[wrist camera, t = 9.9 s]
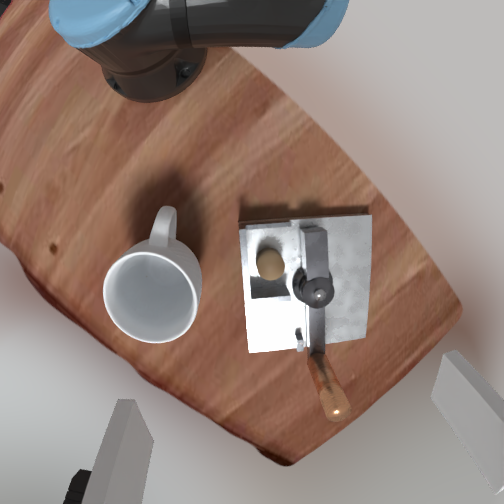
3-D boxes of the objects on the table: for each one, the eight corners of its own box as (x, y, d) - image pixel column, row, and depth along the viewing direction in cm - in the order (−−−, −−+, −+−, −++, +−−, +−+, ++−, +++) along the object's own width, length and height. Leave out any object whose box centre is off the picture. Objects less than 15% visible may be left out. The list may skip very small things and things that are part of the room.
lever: (294, 229, 42) (322, 257, 29) (326, 226, 42) (365, 252, 29) (301, 365, 48) (321, 424, 35) (328, 361, 48) (354, 417, 35)
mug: (139, 195, 42) (104, 207, 30) (215, 206, 43) (209, 221, 31) (132, 293, 46) (102, 334, 33) (202, 304, 47) (193, 351, 35)
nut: (253, 249, 43) (255, 256, 40) (279, 245, 43) (283, 251, 40) (257, 274, 44) (259, 282, 41) (283, 270, 44) (286, 277, 41)
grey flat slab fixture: (238, 221, 44) (239, 229, 38) (366, 212, 45) (384, 219, 39) (248, 346, 49) (250, 367, 44) (361, 331, 50) (374, 349, 44)
